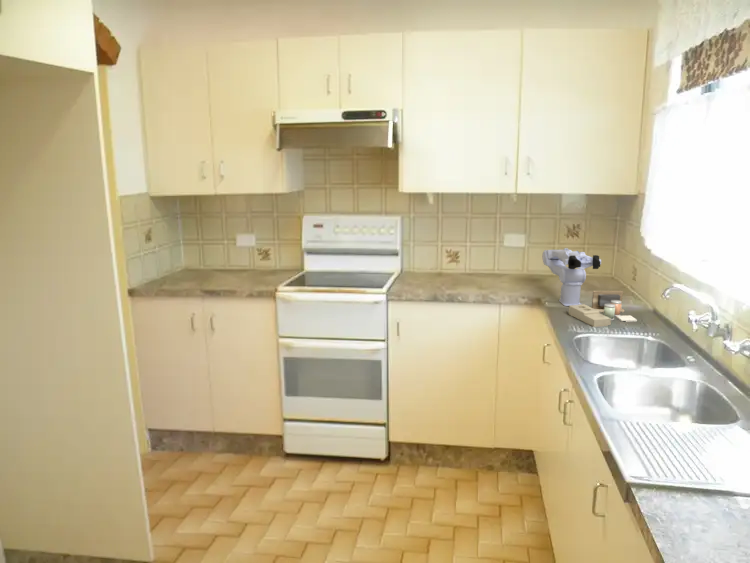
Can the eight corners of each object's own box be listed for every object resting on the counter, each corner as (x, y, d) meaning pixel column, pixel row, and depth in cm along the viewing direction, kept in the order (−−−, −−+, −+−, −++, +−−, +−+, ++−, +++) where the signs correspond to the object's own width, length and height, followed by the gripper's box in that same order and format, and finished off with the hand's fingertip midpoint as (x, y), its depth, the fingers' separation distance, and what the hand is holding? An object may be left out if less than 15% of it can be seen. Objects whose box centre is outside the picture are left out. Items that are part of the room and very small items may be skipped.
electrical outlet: (594, 317, 220) (568, 305, 237) (593, 327, 221) (568, 314, 238) (611, 316, 222) (584, 303, 239) (610, 326, 223) (583, 313, 240)
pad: (615, 317, 233) (615, 315, 233) (630, 316, 233) (630, 315, 233) (621, 321, 227) (621, 320, 227) (637, 321, 227) (637, 319, 227)
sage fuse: (601, 317, 232) (603, 303, 231) (611, 317, 232) (613, 303, 231) (605, 320, 228) (606, 306, 227) (615, 320, 228) (617, 306, 227)
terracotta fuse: (608, 313, 237) (609, 299, 236) (617, 313, 237) (619, 299, 236) (611, 316, 233) (613, 302, 232) (621, 316, 233) (623, 302, 232)
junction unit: (590, 308, 244) (592, 290, 242) (619, 308, 244) (621, 290, 242) (595, 312, 240) (596, 293, 238) (624, 312, 239) (626, 293, 237)
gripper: (561, 251, 241) (571, 254, 228) (596, 250, 241) (608, 254, 228) (560, 267, 243) (571, 272, 229) (595, 267, 242) (607, 271, 229)
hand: (589, 264), depth 229 cm, fingers open, 7 cm apart
